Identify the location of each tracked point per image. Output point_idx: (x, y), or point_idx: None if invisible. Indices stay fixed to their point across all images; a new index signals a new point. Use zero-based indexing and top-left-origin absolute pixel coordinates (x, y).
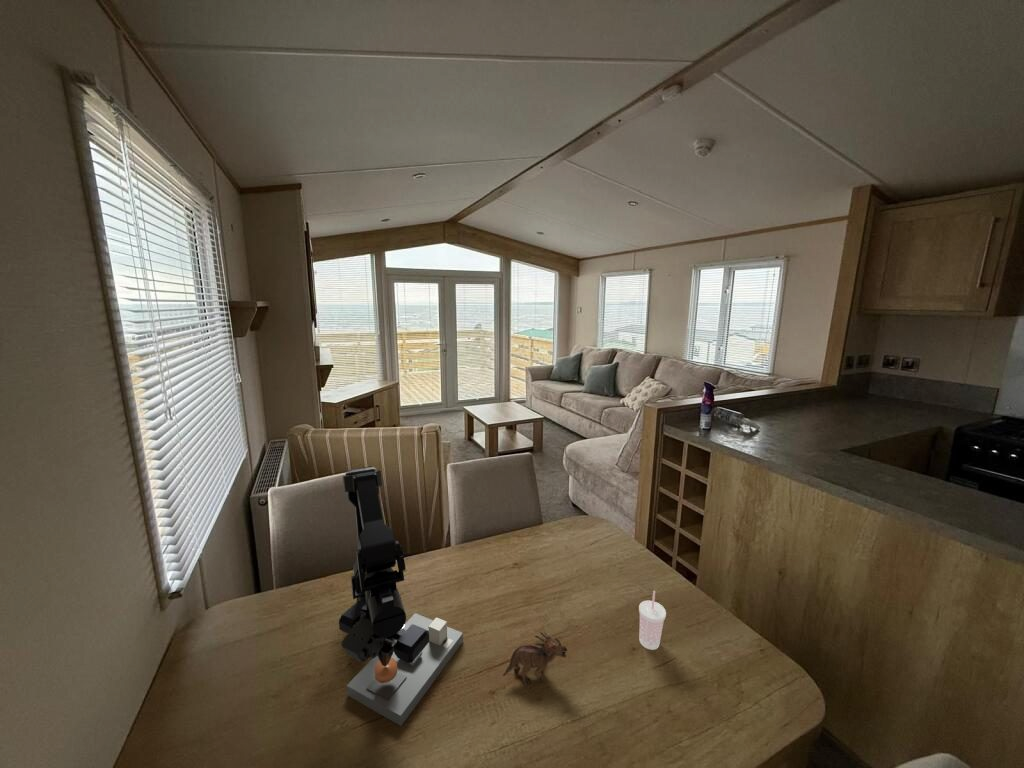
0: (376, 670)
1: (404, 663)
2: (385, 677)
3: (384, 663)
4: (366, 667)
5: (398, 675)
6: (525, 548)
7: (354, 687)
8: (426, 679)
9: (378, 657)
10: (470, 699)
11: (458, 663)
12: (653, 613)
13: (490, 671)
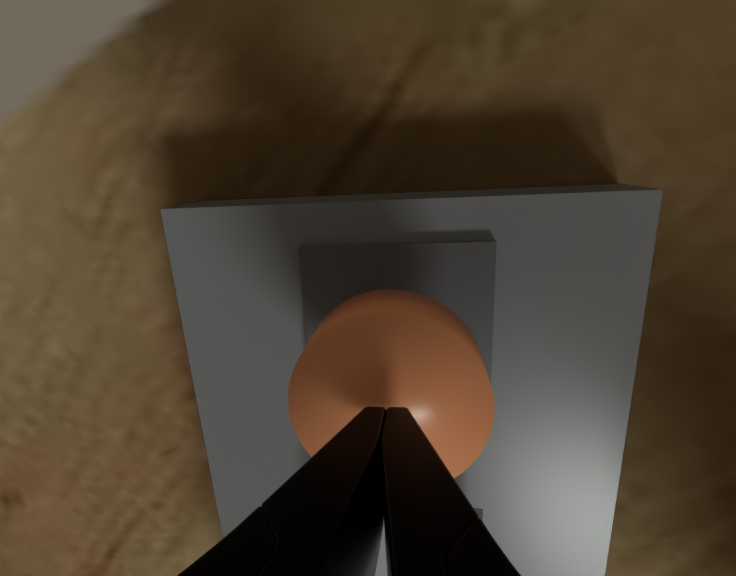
0: (436, 345)
1: None
2: (318, 331)
3: (357, 428)
4: (618, 361)
5: None
6: None
7: (591, 207)
8: (210, 445)
9: (434, 462)
10: (51, 442)
11: None
12: None
13: (80, 566)
